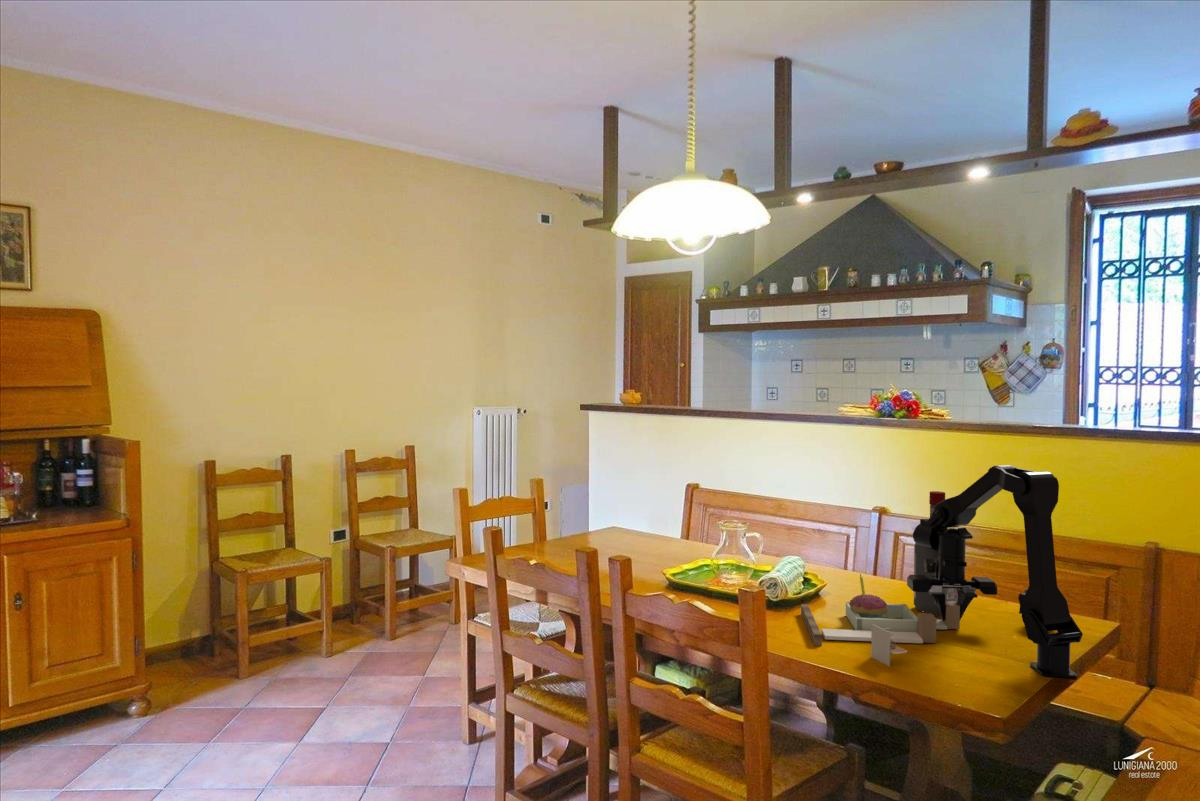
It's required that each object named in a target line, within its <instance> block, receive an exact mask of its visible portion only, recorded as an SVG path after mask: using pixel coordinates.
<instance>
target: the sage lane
mask: <svg viewBox="0 0 1200 801" xmlns="http://www.w3.org/2000/svg"><path fill="white" fill-rule="evenodd" d="M849 602H850V601H848V602H847V601H846V602H845V615H846V617H847V618H848V620H849V622H850V623H851V625H852V626H853V627H852V628H854V630H868V631H872V624H873V625H875V626H878V627H880V628H882V629H885V628H890V629H889V630H888V631H893V632H917V633H918V615H916V614H915V613H914V612H913V610H911V609H910V607H909V606H908V605H907V604H906V603H886V604H887V608H888V610H887V613H886V614H883V615H882V617H881V618H863V617H860V615H859V614H858V613H856V612H854V611H853V610H852V609H851V608H850V605H849ZM960 624H961V620H960V605H959V604H957V603H956V602H955V601H945V621H943V620H942V619H937V618H936V630H943V631H944V630H946V631H947V630H949V629H950V630H960V628H961V625H960Z"/></svg>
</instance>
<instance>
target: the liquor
mask: <svg viewBox="0 0 1200 801" xmlns="http://www.w3.org/2000/svg"><path fill="white" fill-rule="evenodd" d="M943 500H946V492H945V491H939V490H938V491H935V490H933V491H929V501H928V502H929V518H930V517H931V515H932V513H933V512H934V510H935V509H934V508H935V506H936V505H937V504H938V503H939V502H941V501H943ZM913 546H914V547H913V551H914V552H913V554H914V555H913V575H925V576H926V577H927V578H929V579H934V580H938V578H935V577H932V573H925V572H924V559H933V560H934V562H937V556H939V550H933V549H930V548H926V547H923V546H920V545H918V544H916V543H915V542H914V545H913ZM954 585H960V584H954ZM942 592H943V593H944V594H945V601H955V602H956V603H957V601H958V594H957V589H956V588H942ZM913 605H914V606H915V609H916V611H917V610H920V611H919V612H921V611H924V612H927V613H932V614H933V615H934V616H936V615H940V613H939V610H938V607H937V604H936V601H935V599H934V597H933V596H932V595H931V594H929V593H928V592H915V591H913ZM924 612H923V613H924Z"/></svg>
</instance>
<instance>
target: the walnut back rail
mask: <svg viewBox="0 0 1200 801" xmlns="http://www.w3.org/2000/svg"><path fill="white" fill-rule="evenodd" d="M800 614H801V617H802V619H803V622H804V624H805V626H806V629H807V632H808V635H809V636H810V639H811V641H812V643H813V646H814V647H815V646H818V647H821V646H823V634H822V631H821V630H820V628H819V626H818V624H817V621H816V620H815V617H814V615H813V613H812V611H811V608H810V607H809V604H806V603H805V604H800Z"/></svg>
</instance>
